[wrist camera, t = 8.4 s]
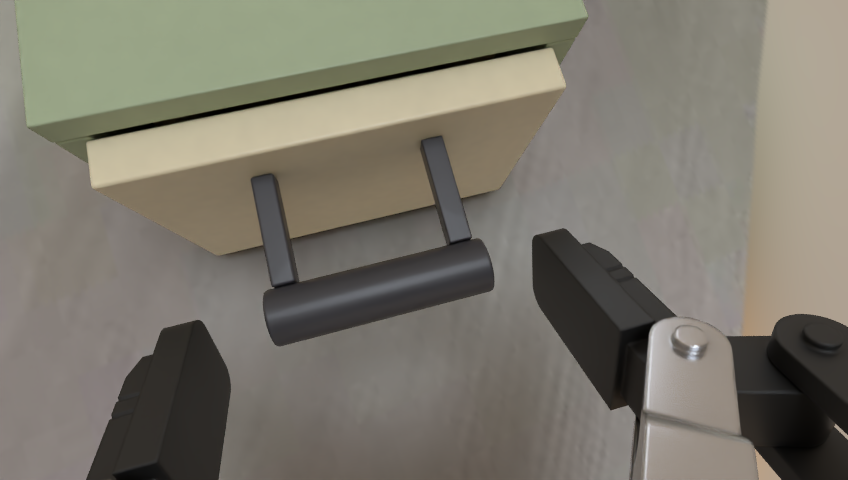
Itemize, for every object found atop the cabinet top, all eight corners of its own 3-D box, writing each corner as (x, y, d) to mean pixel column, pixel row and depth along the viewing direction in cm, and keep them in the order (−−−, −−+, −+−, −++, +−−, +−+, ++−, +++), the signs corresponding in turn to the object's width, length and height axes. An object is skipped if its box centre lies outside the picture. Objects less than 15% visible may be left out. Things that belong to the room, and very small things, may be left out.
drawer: (532, 291, 19) (628, 250, 11) (236, 369, 17) (113, 385, 10) (411, -95, 22) (420, -323, 15) (161, -56, 21) (31, -284, 13)
